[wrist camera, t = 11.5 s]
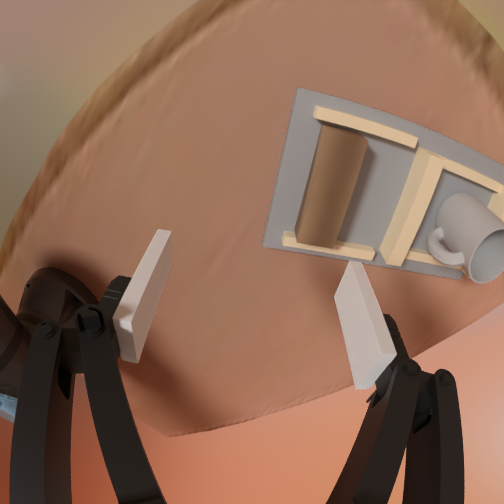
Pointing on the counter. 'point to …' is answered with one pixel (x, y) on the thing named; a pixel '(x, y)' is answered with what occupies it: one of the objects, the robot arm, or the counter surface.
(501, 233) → the cup
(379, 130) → the jig
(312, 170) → the brown rounded bar
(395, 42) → the counter surface
